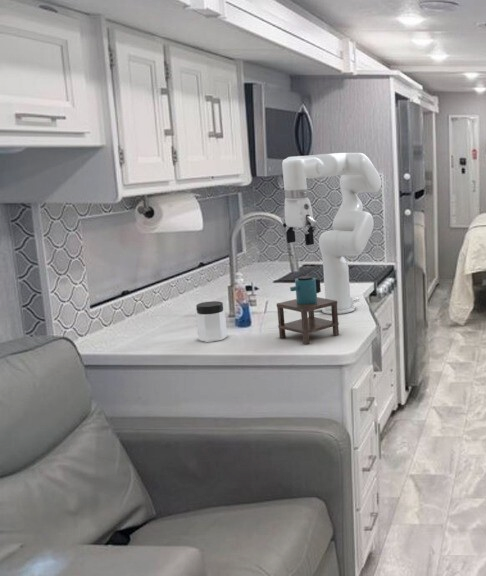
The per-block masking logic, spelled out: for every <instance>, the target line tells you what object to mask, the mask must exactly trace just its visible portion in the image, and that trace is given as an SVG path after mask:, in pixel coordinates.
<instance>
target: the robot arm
mask: <svg viewBox="0 0 486 576" xmlns="http://www.w3.org/2000/svg"><path fill="white" fill-rule="evenodd" d="M281 167H282V178H283V188H284V189H283V190H284V216H282V217H281V218H280V221H281V223H282V226H283V229H284V232H286V242H287V244H290V243H296V232H295V231H296V230H294V229H295V228H298V229H303V230H304V232H305V233H304V241H305V246H311V245H314V244H315V240H314V234H315V231H316V230H317V229H316V228H317V223H318V222H317V220H315V218H314V214H313V208H312V204H311V200H310V198H309V195H308V194H309V193H308V185H307V184H308V183H307V179H317V178H331V177H339V176H340V178H339V188H340V192H341V193H340V194H341V199H342V201H341V204H340V206H339V207H338V210H337V212H336V213H335V216H334V218H333V220H332V229H331V230H325V231H323V232H322V233H321V234H320V236H319V238H318V247H319V251H320V255H321V260H322V269H323V287H324V299H330V300H335V301H337V313H338V315H341V314H347V313H352V312H354V311H355V310H356V307H355V305H354V303H359V302H360V300H361V299H360V297H359V296H356V297H351V287H350V286H351V285H350V269H349V264H348V262H347V259H346V258H345V257H357V256H360V255H361V254H362V253H363V252H364V251H365V248H366V246H367V244H368V242H369V240H370V238H371V236H372V233H373V230H374V217H373V216H372V214H371V213H370V212H368V211H365V210H363V209H364V205H363V203H362V200H361V199H360V198H359V196H358V194H375V193H378V192H379V191H380V190H381V188H382V178H381V176H380V174H379V172H378V170H377V169H376V166H375V165H374V164H373V162H372V161H371V159H370V158H369V157H368V156H367V155H366V154H365V153H362V152H334V153H332V152H331V153H319V154H312V155H297V156H296V155H295V156H287V157H286V158H285V159H283V160H282V163H281ZM321 312H322V313H324V314H327V315H332V310H331V306H328V307H324V308H321Z"/></svg>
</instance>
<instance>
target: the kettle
mask: <svg viewBox="0 0 486 576" xmlns="http://www.w3.org/2000/svg"><path fill="white" fill-rule="evenodd" d="M294 285H295V286H290V287H289V289H290V292H295V299H297V304H313V303H316V302H317V297H318V294H320V293H321V292H322V290H321V289H322V288H321V279H319V278H316V277H313V275H301V276H298V277H297V278H295V279H294Z"/></svg>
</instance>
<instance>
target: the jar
mask: <svg viewBox="0 0 486 576" xmlns="http://www.w3.org/2000/svg"><path fill="white" fill-rule="evenodd" d="M195 308H196V313H195V321H196V328H197V329H196V330H197V339H198V341H201V342H204V343H212V342H219V341H222V340H224V339H226V338H227V337H228V329H227V328H228V327H227V317H226V310H225V309H224V302H222V301H220V300H219V301H216V300H213V301H211V300H210V301H204V302H200V303H197V304H196V307H195Z"/></svg>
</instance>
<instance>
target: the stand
mask: <svg viewBox="0 0 486 576" xmlns="http://www.w3.org/2000/svg"><path fill="white" fill-rule="evenodd" d="M328 306H331V310H332V314H331V320H330V319H325V318H321V317H316V316H315V311H316V310H320V309H322V308H324V307H328ZM276 309H277V310H276V311H277V321H278V325H277V326H278V327H277V328H278V334H279V339H286V337H287V336H286V331H289V332H294V333H298V334H301V335H302V344H303V345H309V344H310V334H311V333H316V332H320V331H322V330H326V329H329V328H332V335H333V336H335V337H336V336H337V337H338V336H340V331H339V330H340V329H339V324H340V323H339V314H338V313H337V301H335V300H330V299H325V297H324V298H323V297H319V296H317V302H316V303H313V304H297V299H296V298H295V299H291V300H286V301H282V302H281V301H280V302H276ZM284 310H290V311H294V312H298V313H300V316H301V318H299V319H297V320H293V321H288V322H285V311H284Z"/></svg>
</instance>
